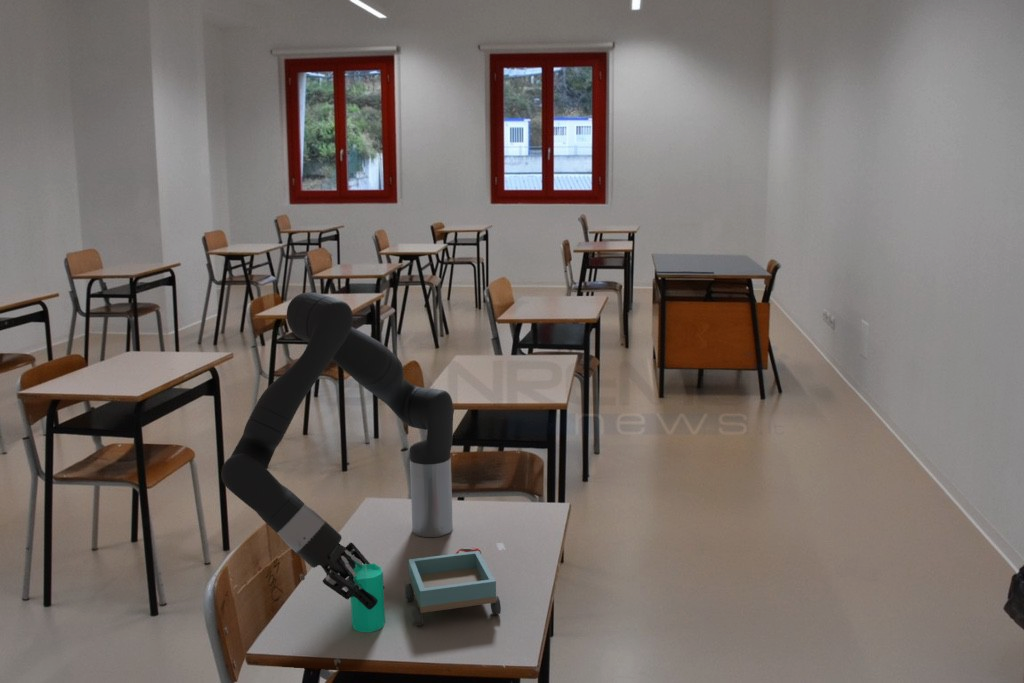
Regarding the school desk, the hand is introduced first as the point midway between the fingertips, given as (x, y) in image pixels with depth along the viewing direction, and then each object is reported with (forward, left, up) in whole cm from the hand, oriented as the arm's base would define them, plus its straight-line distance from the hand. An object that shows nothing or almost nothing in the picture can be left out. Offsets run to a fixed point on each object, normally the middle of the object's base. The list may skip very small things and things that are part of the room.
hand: (377, 598), depth 172 cm
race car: (-17, +19, -6) cm, 27 cm away
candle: (-1, -2, -5) cm, 6 cm away
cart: (-3, +14, -5) cm, 15 cm away
